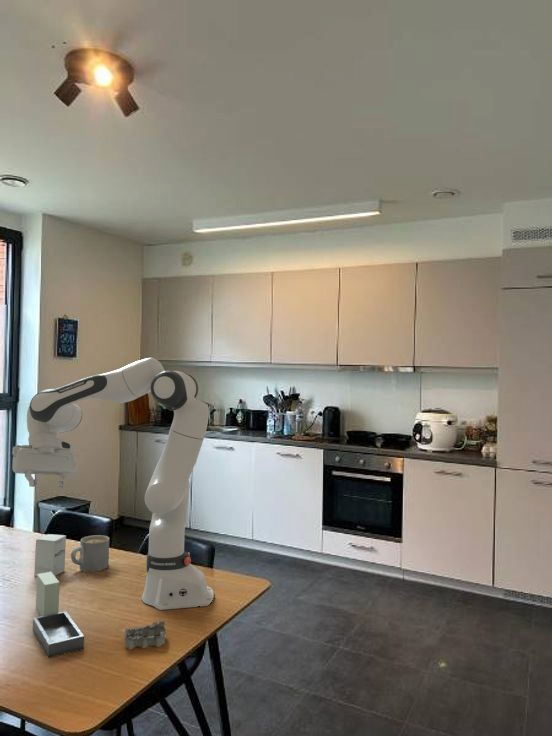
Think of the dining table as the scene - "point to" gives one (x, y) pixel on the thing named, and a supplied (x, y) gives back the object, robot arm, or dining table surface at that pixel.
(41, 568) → the supplement box
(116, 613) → the dining table surface
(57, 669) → the dining table surface
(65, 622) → the grey rectangular tray
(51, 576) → the sage green slab
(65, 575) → the dining table surface
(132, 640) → the egg carton
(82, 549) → the coffee mug
